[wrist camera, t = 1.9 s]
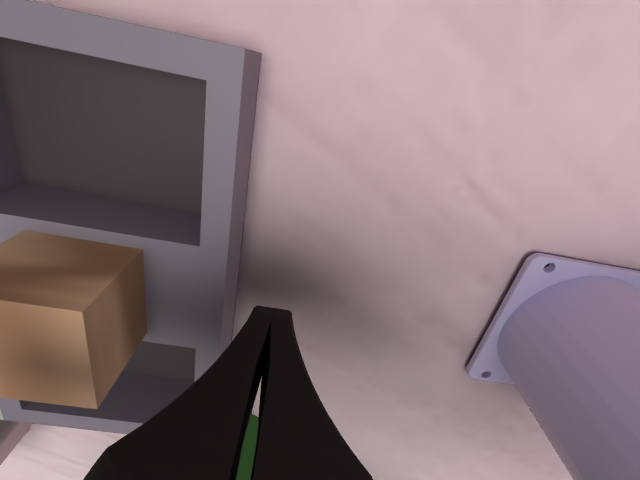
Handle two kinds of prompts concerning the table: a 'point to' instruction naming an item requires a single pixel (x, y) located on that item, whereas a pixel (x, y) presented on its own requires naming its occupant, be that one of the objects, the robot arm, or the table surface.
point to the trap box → (131, 181)
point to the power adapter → (11, 436)
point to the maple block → (67, 317)
